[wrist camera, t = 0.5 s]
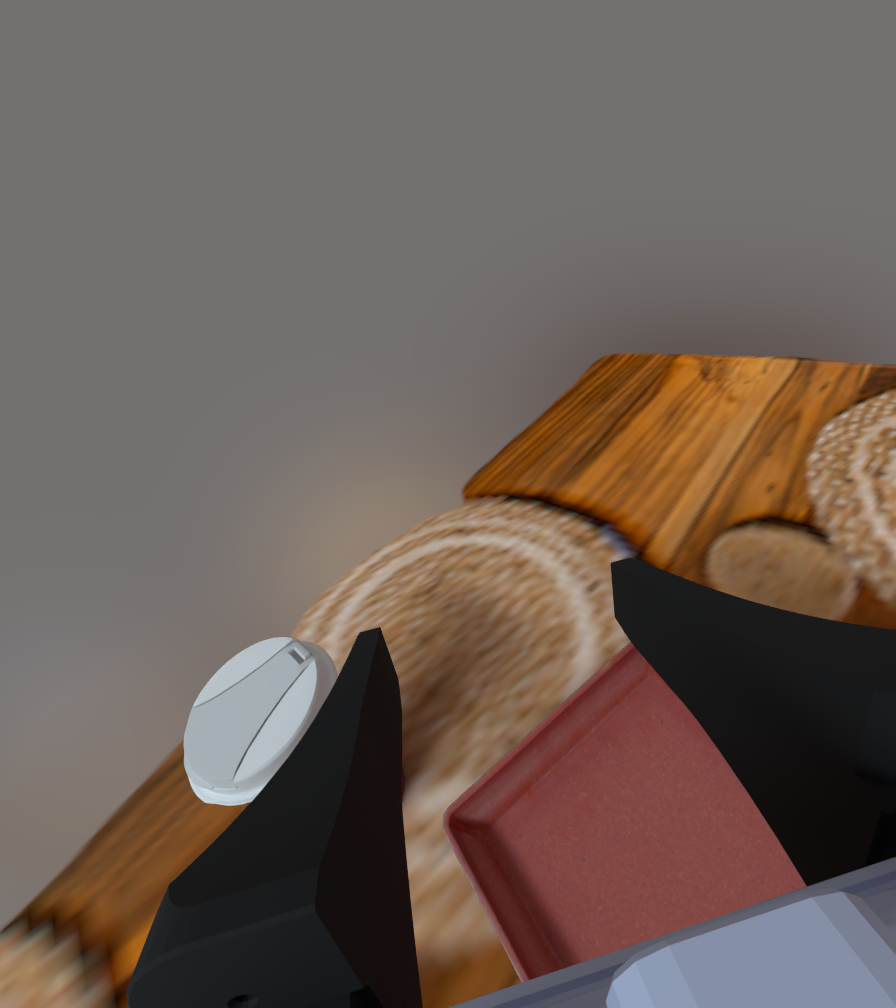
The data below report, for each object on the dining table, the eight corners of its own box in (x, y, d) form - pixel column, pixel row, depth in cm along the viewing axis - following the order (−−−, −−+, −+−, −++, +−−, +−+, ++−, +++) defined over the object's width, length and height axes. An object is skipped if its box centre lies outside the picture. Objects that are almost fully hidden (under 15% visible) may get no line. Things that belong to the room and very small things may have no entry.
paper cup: (372, 708, 32) (278, 606, 24) (442, 775, 28) (357, 677, 19) (292, 803, 29) (148, 724, 20) (357, 899, 24) (203, 849, 15)
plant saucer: (1025, 945, 17) (1080, 940, 15) (772, 1440, 12) (802, 1531, 10) (645, 649, 30) (647, 625, 28) (450, 831, 26) (435, 817, 23)
